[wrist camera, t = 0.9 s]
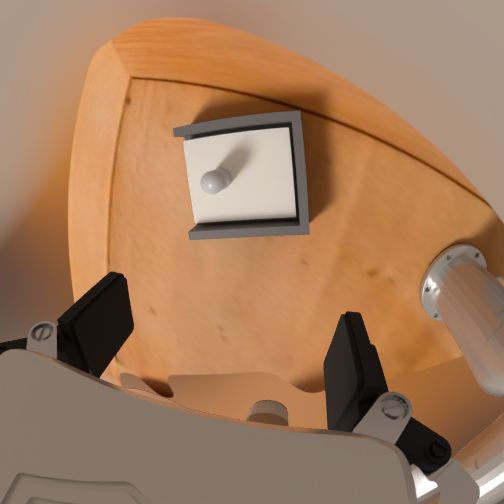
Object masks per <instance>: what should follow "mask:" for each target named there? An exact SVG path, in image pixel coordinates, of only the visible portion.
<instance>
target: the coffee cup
mask: <svg viewBox="0 0 504 504" xmlns="http://www.w3.org/2000/svg"><path fill="white" fill-rule="evenodd" d="M246 421H251V422H257V423H265V424H272V425H281V426H288V412H287V409H286V407H285V406H284V405H283V404H281V403H279V402H276V401H271V400H263V401H259V402H256V403H255V404H254V405H253V407H252V408H251V410H250V412H249V414H248V417H247V420H246Z"/></svg>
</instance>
